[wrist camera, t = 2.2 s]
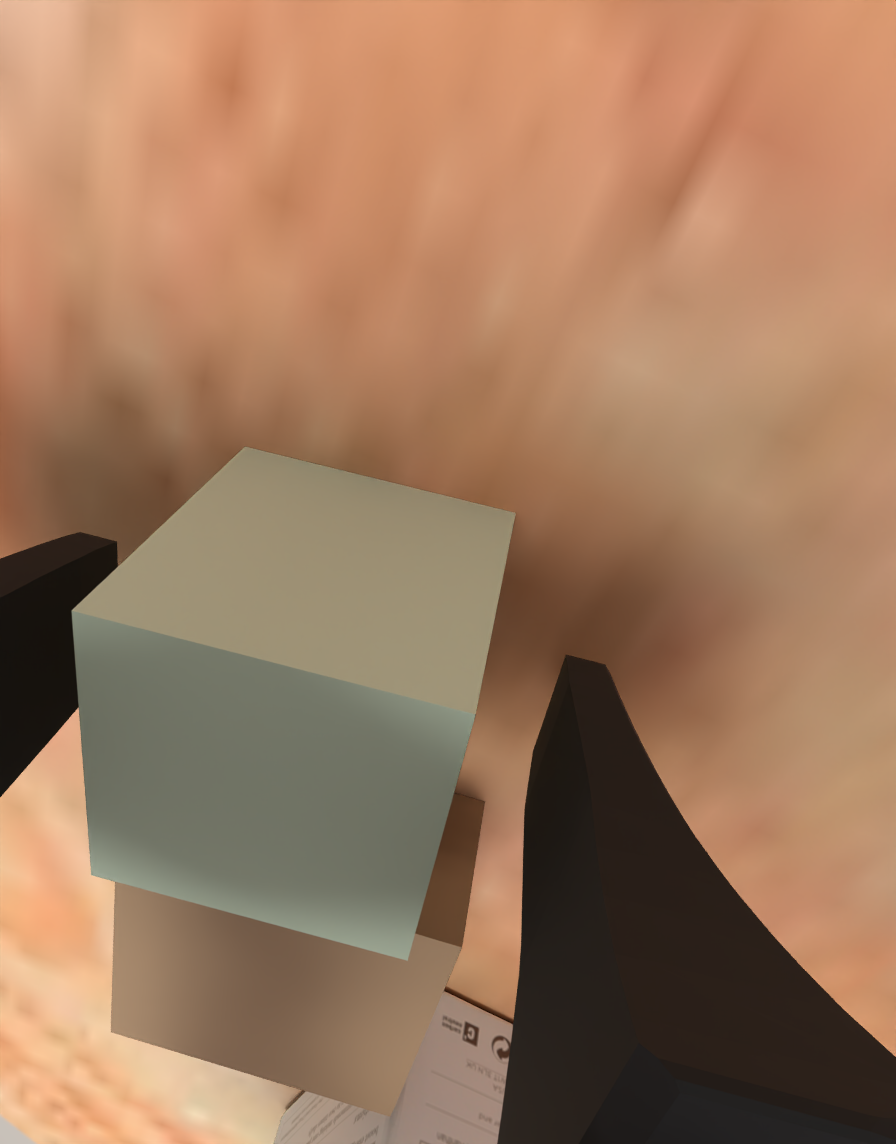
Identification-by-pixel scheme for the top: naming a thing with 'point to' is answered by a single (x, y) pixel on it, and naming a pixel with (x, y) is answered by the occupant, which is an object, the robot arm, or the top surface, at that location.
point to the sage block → (288, 696)
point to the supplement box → (424, 1090)
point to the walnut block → (292, 984)
